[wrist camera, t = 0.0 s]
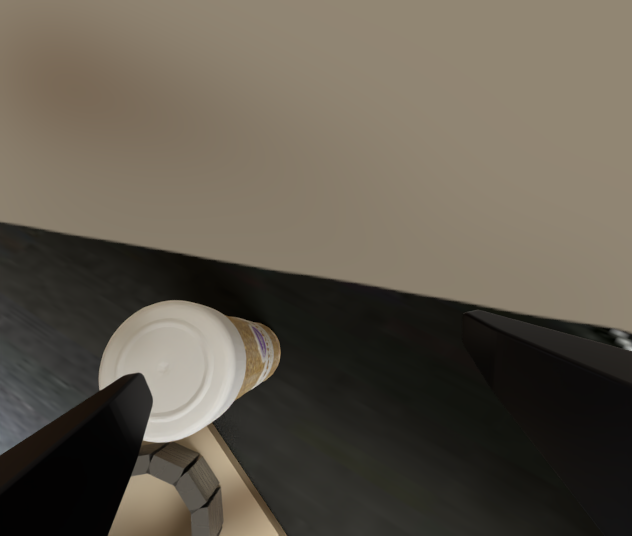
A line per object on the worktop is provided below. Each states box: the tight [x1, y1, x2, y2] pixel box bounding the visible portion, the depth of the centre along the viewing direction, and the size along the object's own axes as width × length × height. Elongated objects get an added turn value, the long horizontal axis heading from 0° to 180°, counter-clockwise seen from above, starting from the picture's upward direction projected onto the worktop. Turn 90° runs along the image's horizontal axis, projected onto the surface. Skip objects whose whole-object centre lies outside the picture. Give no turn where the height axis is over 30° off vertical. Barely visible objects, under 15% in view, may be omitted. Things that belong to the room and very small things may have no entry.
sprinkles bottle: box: [99, 300, 281, 443], centre depth 16 cm, size 5×5×13 cm
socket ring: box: [131, 442, 224, 536], centre depth 18 cm, size 8×8×2 cm
